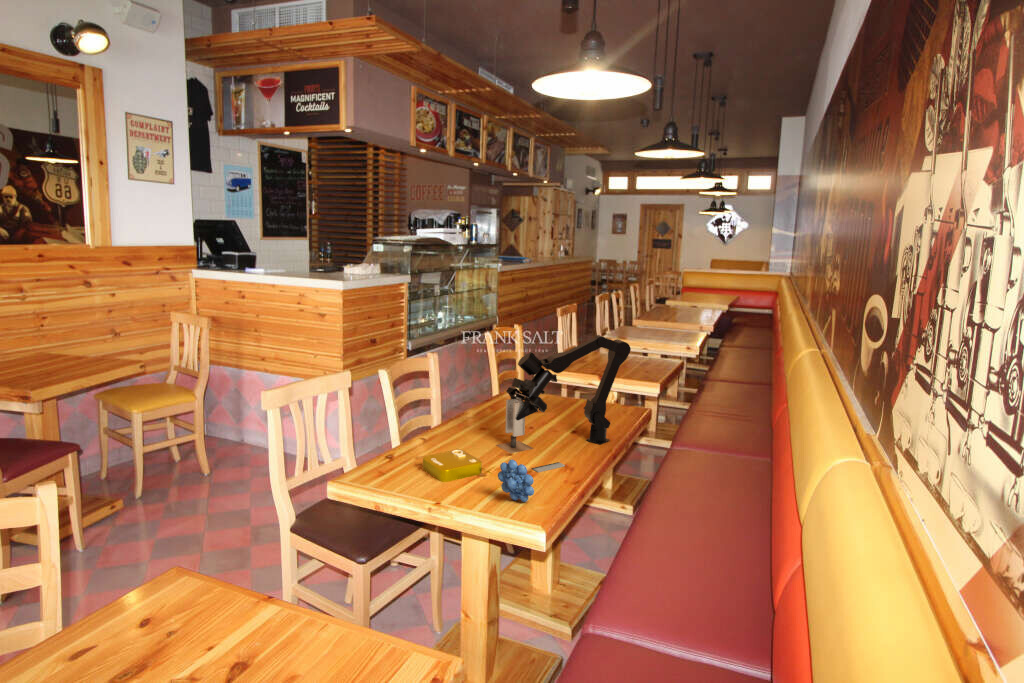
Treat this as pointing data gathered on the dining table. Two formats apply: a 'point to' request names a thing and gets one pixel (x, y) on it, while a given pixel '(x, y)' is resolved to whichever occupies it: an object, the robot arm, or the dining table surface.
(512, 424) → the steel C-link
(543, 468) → the slate mat
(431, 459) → the element tile
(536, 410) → the robot arm
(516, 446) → the walnut stand
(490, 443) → the dining table surface
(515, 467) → the blue ball cluster
